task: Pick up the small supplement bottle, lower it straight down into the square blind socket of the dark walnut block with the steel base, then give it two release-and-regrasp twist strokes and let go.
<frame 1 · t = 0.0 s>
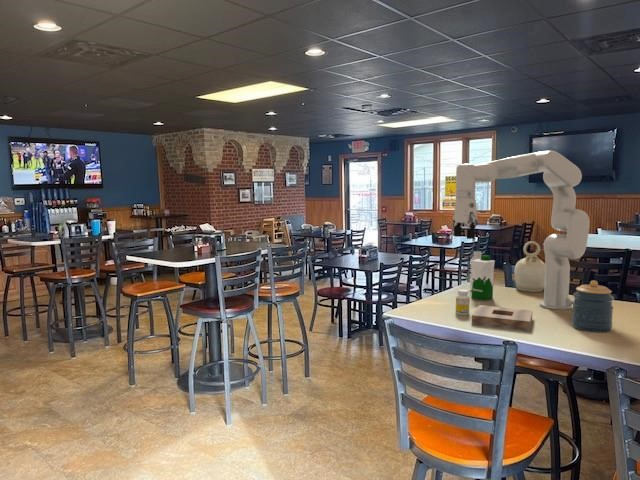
hand: (464, 237, 192), 31 cm above the table, tool pointing down, fingers open, 9 cm apart
plastic bottle: (476, 291, 239), on the table
milk carton: (481, 298, 222), on the table
socket block: (502, 321, 182), on the table
jug: (529, 290, 242), on the table
canister: (591, 328, 173), on the table
supplement bottle: (462, 313, 194), on the table
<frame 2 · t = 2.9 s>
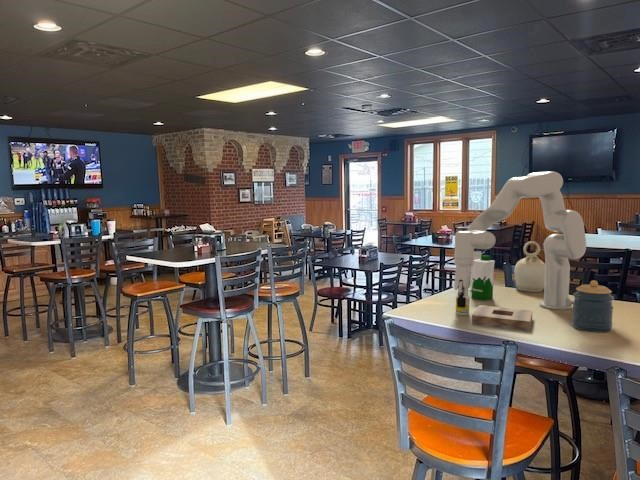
hand: (462, 305, 194), 4 cm above the table, tool pointing down, fingers closed on supplement bottle, 5 cm apart
supplement bottle: (462, 313, 194), on the table, touching gripper
everything else where it was.
when the fingers open (5 cm above the table, at t = 8.4 s): supplement bottle stays where it is, resting on socket block.
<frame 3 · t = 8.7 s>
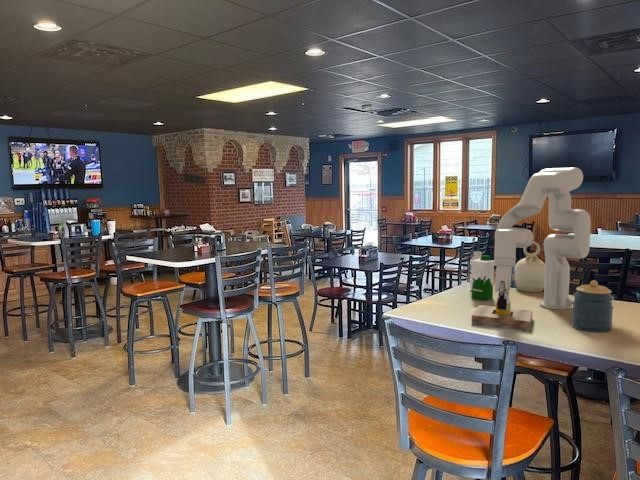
hand: (503, 306, 181), 6 cm above the table, tool pointing down, fingers open, 8 cm apart
supplement bottle: (502, 319, 182), point 1 cm above the table, touching socket block
everything else where it was.
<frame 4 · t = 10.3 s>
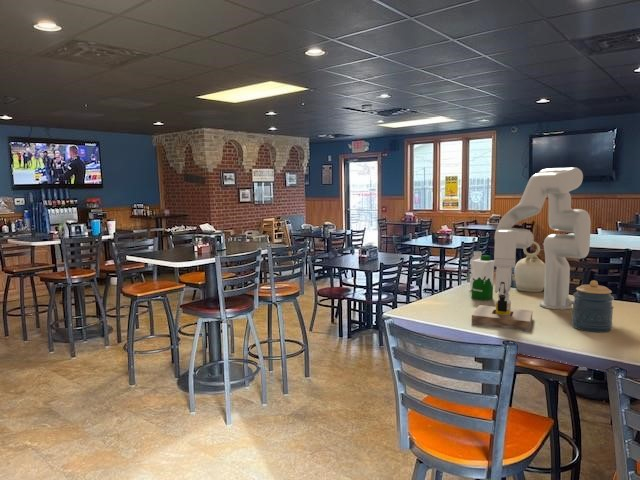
hand: (503, 308, 181), 5 cm above the table, tool pointing down, fingers closed on supplement bottle, 5 cm apart
supplement bottle: (502, 319, 182), point 1 cm above the table, touching gripper, socket block
everything else where it was.
when the fingers open (5 cm above the table, at t = 11.3 s): supplement bottle stays where it is, resting on socket block.
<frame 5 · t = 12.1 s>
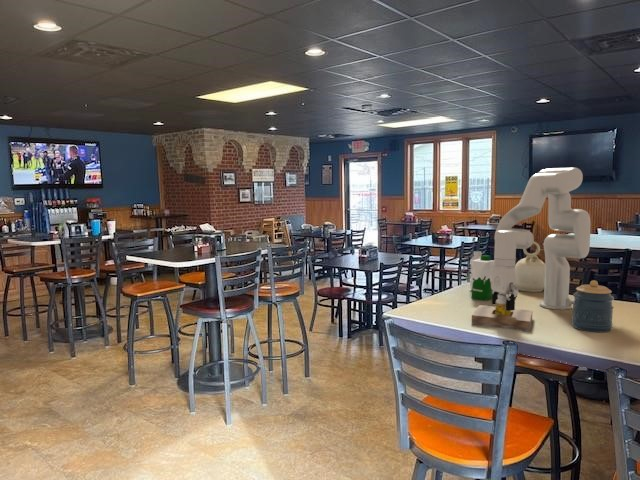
hand: (503, 307, 181), 6 cm above the table, tool pointing down, fingers open, 9 cm apart
supplement bottle: (502, 319, 181), point 1 cm above the table, touching socket block
everything else where it was.
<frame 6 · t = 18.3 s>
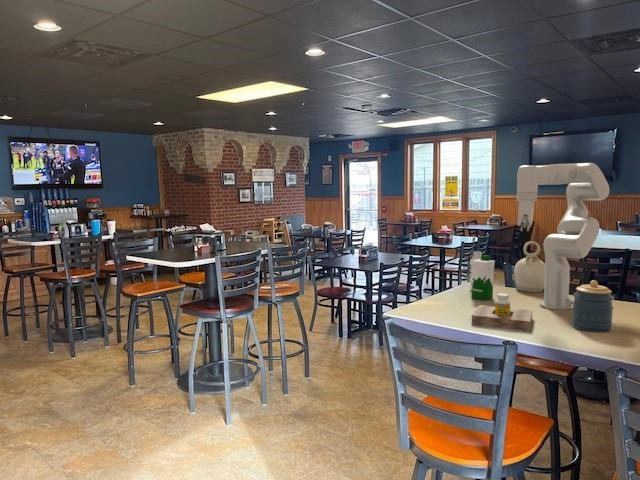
hand: (525, 240, 188), 30 cm above the table, tool pointing down, fingers open, 9 cm apart
at the end: supplement bottle 0.2 cm off-centre on the socket block, point 0.8 cm above the socket block's base; supplement bottle tilted 0°; the gripper is holding nothing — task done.
